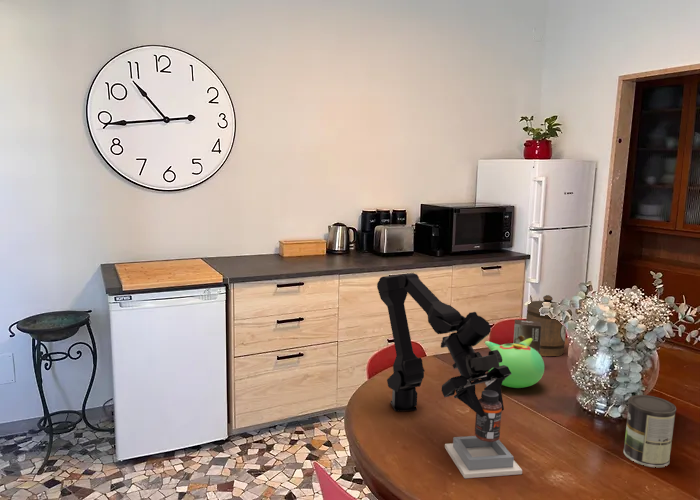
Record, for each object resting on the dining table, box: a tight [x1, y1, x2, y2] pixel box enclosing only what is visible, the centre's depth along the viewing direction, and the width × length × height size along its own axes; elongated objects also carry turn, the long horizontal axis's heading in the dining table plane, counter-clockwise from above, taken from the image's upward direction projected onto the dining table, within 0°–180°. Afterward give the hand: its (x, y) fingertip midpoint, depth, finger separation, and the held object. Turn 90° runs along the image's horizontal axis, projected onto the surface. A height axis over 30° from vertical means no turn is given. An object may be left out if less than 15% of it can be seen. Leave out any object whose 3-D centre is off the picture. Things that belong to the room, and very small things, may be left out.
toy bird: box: [484, 338, 545, 389], centre depth 180 cm, size 18×17×15 cm
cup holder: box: [444, 435, 523, 479], centre depth 134 cm, size 14×14×4 cm
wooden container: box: [525, 294, 567, 357], centre depth 214 cm, size 15×15×22 cm
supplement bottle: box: [474, 389, 503, 442], centre depth 134 cm, size 6×6×11 cm
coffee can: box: [622, 394, 677, 469], centre depth 137 cm, size 10×10×14 cm
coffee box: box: [513, 319, 541, 354], centre depth 198 cm, size 9×6×16 cm
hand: (492, 413), depth 132 cm, fingers closed on supplement bottle, 6 cm apart
